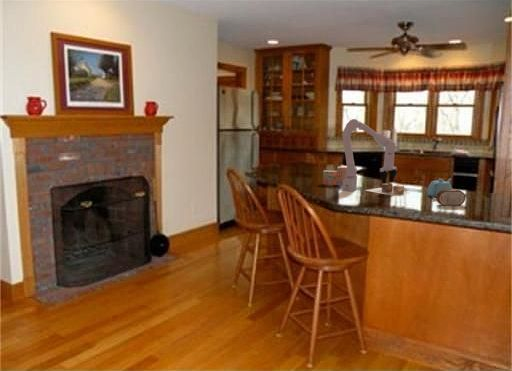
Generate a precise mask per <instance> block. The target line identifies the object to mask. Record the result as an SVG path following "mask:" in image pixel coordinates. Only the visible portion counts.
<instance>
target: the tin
mask: <svg viewBox="0 0 512 371" xmlns="http://www.w3.org/2000/svg"><path fill="white" fill-rule="evenodd" d="M435 198H436V202H437V203H438V204H439V205H442V206H453V207H455V206H462V205H463V204H464V203H465V201H466V198H467V197H466V194H465V193H464V192H463V191H462V190H460V189H452V190H441V191H440V192H438V194H437V196H436V197H435Z"/></svg>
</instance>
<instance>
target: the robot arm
mask: <svg viewBox="0 0 512 371" xmlns="http://www.w3.org/2000/svg"><path fill="white" fill-rule="evenodd" d="M357 129H358V130H359V131H360V130H361V131H364V132H366V134H368V135H369V136H371V137H373V140H374V141H375V142H376V143H378V144H379V145H381V146H382V147H384V148H385V150H384V157H383V159H384V161H383V167H381V168H379V172H378V173H379V176H380V179H381V183H382V184H386V183H387V179H388V178H389V179H388V181H389V182H390V183H394V180H395V178H396V175H397V174H398V168H397V166H395V165H394V164H395V149H396V143H395V142H394V141H393V140H392V139H391V138H390V137H387V136H386V135H385V134H384V133H383V132H382V133H381V132H376V131H375V130H374V129H372V128H371V127H369V126H368V125H367V124H366V123H363V122H362V121H359V120H358V119H355V118H352V119H350V120H349V121H348V122H347V123H346V125H345V126H344V128H343V131H342V134H341V135H342V140H343V147H344V155H345V161H346V167H347V169H346V175H345V179H344V180H343V186H342V192H352V193H354V192H356V191H358V190H359V188H358V187H357V186H358V185H357V184H358V175H357V171H358V169H357V166H356V165H355V160H354V154H353V147H352V139H351V135H352V133H354V131H356V130H357ZM388 175H389V176H388ZM357 188H358V189H357ZM359 191H360V190H359Z"/></svg>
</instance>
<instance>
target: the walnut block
mask: <svg viewBox="0 0 512 371" xmlns="http://www.w3.org/2000/svg"><path fill="white" fill-rule="evenodd" d="M393 186H394V184H393V183H387V182H386V183H382V184H381V188H382V192H392V190H393Z"/></svg>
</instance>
